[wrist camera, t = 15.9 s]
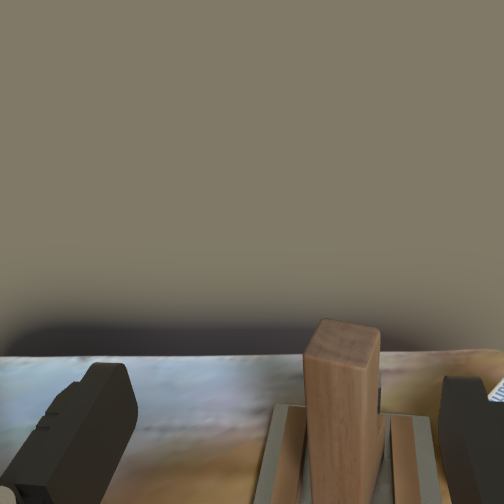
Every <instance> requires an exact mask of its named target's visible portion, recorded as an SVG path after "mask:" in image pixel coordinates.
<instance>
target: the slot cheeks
mask: <svg viewBox="0 0 504 504" xmlns="http://www.w3.org/2000/svg"><path fill="white" fill-rule="evenodd" d="M389 433H390V452H391V471H392V490H393V504H421V495H420V486H419V477H418V467H417V458H416V448H415V439H414V429H413V420H412V417H409V416H398V415H390V432H389ZM307 438H308V435H307V419H306V407H297V406H288V411H287V417H286V422H285V428H284V433H283V439H282V444H281V450H280V455H279V461H278V466H277V472H276V477H275V483H274V488H273V494H272V499H271V504H299V500H300V492H301V485H302V477H303V469H304V461H305V453H306V446H307Z"/></svg>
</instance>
